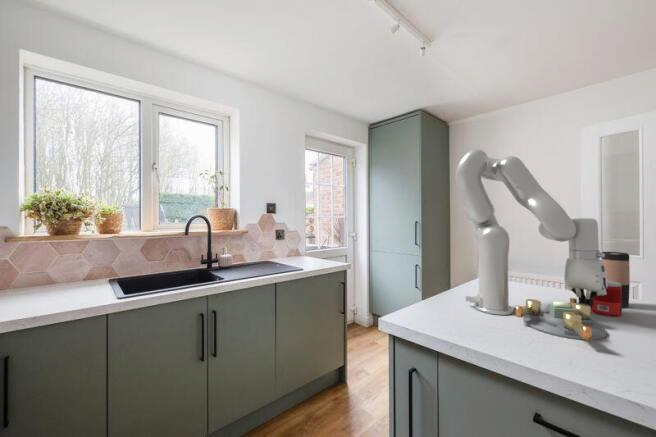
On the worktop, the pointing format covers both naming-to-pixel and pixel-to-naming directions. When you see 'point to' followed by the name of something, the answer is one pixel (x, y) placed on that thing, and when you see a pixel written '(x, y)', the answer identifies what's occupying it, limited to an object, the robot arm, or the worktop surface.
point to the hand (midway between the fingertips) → (585, 309)
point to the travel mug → (618, 272)
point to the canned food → (609, 301)
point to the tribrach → (561, 323)
